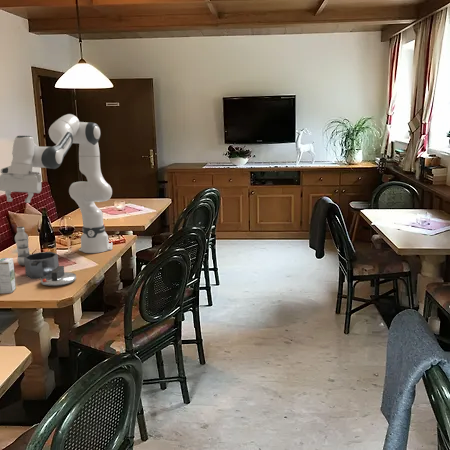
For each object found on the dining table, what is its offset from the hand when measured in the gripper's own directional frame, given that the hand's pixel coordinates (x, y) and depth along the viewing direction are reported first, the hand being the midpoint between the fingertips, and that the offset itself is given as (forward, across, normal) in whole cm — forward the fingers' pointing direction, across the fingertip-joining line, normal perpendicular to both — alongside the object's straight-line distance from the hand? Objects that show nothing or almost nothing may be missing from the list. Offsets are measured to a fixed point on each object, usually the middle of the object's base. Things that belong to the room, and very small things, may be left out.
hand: (18, 202), depth 226 cm
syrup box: (+40, +1, +1) cm, 40 cm away
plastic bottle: (+31, +19, -34) cm, 50 cm away
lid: (+35, -15, -14) cm, 41 cm away
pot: (+33, 0, -23) cm, 40 cm away
